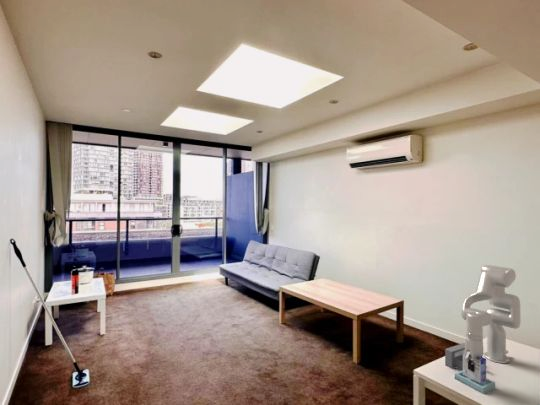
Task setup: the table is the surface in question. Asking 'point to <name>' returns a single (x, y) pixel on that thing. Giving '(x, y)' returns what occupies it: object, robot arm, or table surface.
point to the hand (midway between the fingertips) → (474, 368)
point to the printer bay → (455, 356)
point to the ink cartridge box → (475, 369)
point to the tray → (475, 383)
